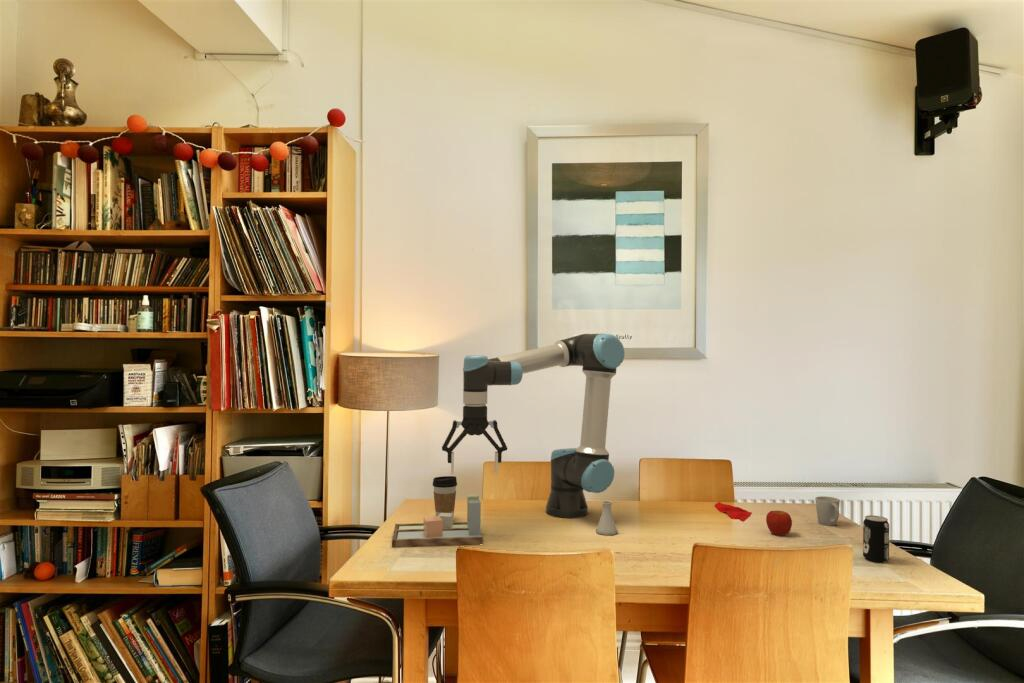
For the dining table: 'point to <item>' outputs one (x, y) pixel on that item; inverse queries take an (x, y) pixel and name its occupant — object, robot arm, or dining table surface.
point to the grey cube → (447, 519)
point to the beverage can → (876, 539)
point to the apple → (779, 522)
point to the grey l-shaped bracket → (469, 497)
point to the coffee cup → (444, 494)
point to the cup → (827, 510)
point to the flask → (606, 521)
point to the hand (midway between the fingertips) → (474, 473)
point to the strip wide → (472, 532)
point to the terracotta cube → (433, 527)
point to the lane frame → (433, 541)
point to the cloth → (733, 511)
